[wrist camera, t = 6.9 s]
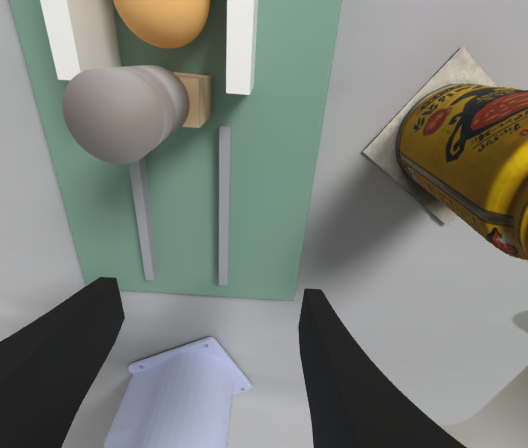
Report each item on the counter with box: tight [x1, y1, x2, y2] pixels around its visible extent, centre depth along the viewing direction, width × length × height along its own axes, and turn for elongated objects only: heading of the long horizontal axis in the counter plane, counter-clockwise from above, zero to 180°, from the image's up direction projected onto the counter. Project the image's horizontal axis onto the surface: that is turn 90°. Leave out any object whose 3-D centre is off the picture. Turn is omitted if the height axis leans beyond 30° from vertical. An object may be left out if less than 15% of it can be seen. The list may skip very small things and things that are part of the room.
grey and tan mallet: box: [62, 65, 212, 164], centre depth 13 cm, size 3×4×8 cm
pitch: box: [9, 0, 342, 301], centre depth 18 cm, size 24×16×2 cm, turn 176°
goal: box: [40, 0, 258, 95], centre depth 13 cm, size 6×8×4 cm
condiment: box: [363, 46, 528, 260], centre depth 14 cm, size 7×8×12 cm
